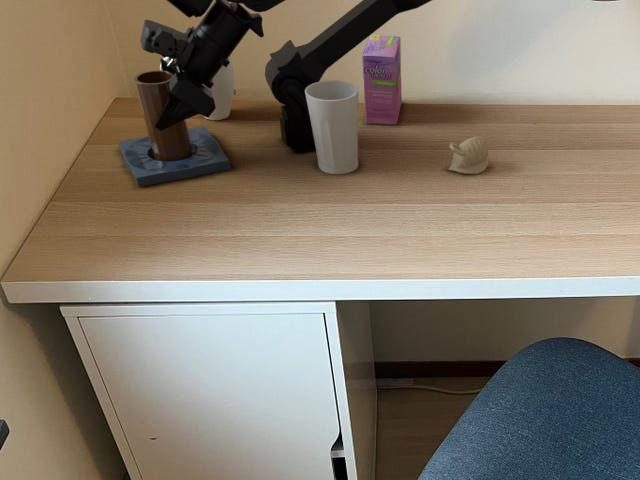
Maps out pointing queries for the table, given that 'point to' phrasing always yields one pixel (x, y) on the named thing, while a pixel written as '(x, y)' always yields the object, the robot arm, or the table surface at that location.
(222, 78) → the mug
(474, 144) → the decorative ornament
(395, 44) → the box
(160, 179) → the ring plate
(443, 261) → the table surface
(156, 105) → the brown tumbler
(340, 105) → the cup
